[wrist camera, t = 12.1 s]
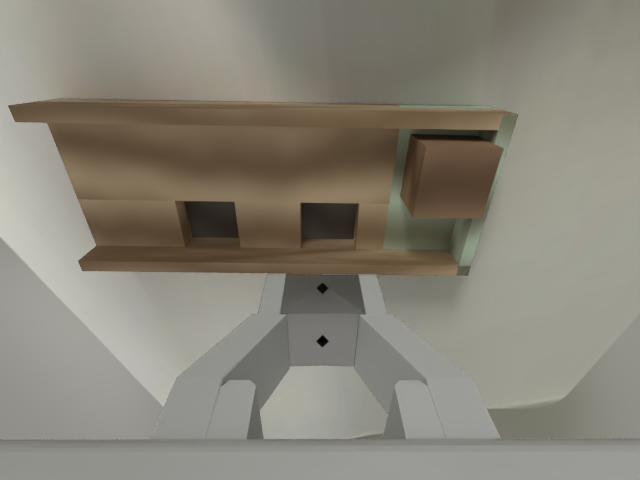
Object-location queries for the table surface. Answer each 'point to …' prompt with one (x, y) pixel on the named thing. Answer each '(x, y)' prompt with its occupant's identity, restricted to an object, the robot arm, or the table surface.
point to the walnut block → (449, 175)
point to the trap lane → (260, 184)
